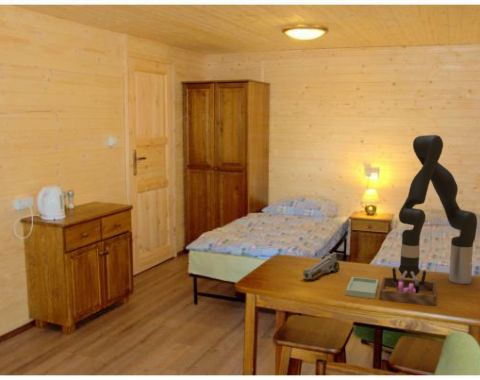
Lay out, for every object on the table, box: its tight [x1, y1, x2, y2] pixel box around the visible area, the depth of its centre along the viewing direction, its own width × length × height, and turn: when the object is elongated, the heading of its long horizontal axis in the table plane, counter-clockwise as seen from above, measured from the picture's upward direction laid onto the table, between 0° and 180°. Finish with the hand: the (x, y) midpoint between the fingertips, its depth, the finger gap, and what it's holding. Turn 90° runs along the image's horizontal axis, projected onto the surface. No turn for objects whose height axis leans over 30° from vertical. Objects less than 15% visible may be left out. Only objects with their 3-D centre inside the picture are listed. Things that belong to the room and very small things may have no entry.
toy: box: [302, 251, 341, 281], centre depth 246 cm, size 6×24×10 cm, turn 136°
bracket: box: [397, 282, 416, 293], centre depth 220 cm, size 13×6×7 cm, turn 150°
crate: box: [379, 276, 437, 307], centre depth 220 cm, size 22×19×4 cm
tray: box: [345, 276, 380, 300], centre depth 227 cm, size 12×19×2 cm, turn 160°
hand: (407, 292), depth 220 cm, fingers closed on bracket, 6 cm apart
